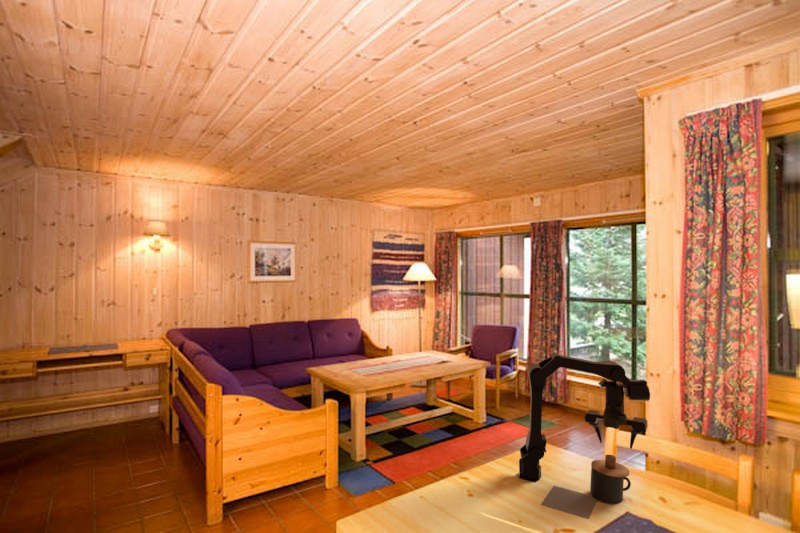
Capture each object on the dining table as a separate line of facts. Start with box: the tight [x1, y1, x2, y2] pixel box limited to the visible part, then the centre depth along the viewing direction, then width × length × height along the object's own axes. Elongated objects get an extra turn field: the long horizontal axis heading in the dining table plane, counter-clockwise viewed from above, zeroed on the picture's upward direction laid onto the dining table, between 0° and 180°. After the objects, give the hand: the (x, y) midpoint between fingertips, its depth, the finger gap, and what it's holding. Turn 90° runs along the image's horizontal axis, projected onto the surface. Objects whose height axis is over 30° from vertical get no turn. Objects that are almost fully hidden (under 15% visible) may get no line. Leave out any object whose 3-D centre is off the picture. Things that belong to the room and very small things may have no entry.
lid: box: [590, 454, 630, 478], centre depth 140 cm, size 11×11×4 cm
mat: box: [540, 485, 598, 520], centre depth 137 cm, size 14×14×1 cm
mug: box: [589, 465, 632, 505], centre depth 140 cm, size 9×12×9 cm
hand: (615, 445), depth 149 cm, fingers open, 9 cm apart
